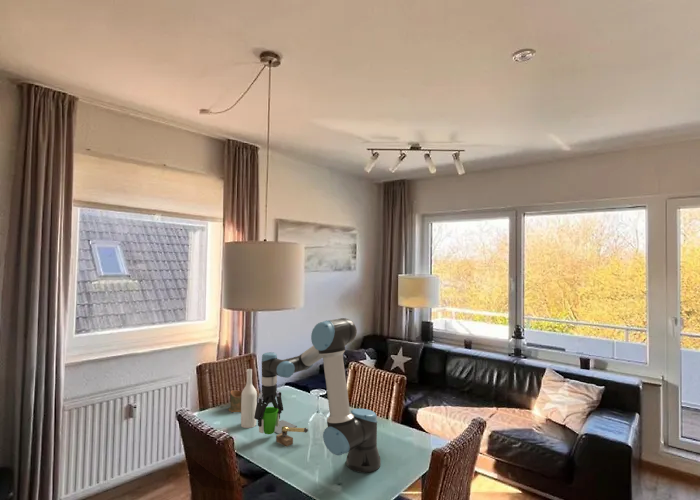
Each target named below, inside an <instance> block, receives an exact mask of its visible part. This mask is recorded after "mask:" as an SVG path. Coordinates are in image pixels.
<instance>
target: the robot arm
mask: <svg viewBox="0 0 700 500" xmlns="http://www.w3.org/2000/svg"><path fill="white" fill-rule="evenodd" d="M357 331H358V329H357V326H356V324H355V323H354V322H353V321H352V320H351V319H349V318H346V317H345V318H343V317H342V318H337V319H329V320H324V321H321V322H318V323H316V324H315V325H314V327H313V328H312V331H311V335H310V336H311V337H310V338H311V339H310V341H311V345H312V346H310V347H309V348H308V349H307V350H305V351H303V352H302V353H300V354H299V355H296V356H293V357H289V358H286V359H279V358H278V354H277V353H276V352H272V351H271V352H264V353H263V354H261V355H262V356H261V396H260V397H258V398H257V405H256V411H255V416H254V419H256V421H257V427H258V432H259V433H261V434H265V433H264V420H263V419H262V418H263V415H264V412H265V410H266V407H269V404H272V407H274V408H278V412H277V418H276V425H275V426H277V427H279V421H280V420H281V414H282V412H283V411H284V406H283V405H284V404H283V400H282V392H281V391H278V385H277V384H278V383H277V382H278V376H279V377H281V378H287V379H289V378H291V377H292V376H293V375H294V374H295V373H298V372H302V371H306V370H309V369H311V368H313V366H314V364H315V363H317V362H318V361H320V360H322V361H323V362H322V363H323V370H324V378H325V386H326V394H327V401H328V410H329V416H328V417H327V419H326V423H327V424H326V426H327V427H326V428H324V431H323V433H322V439H323V444H324V446H325V448H326V449H327V450H328V451H329V452H330V453H331V454H333V455H335V456H343V455H345V454H347V455H346V466H347V467H348V468H349V469H350V470H352V471H353V472H357V473H364V474H365V473H372V472H375V471H377V470H378V469H379V468H380V467H381V456H380V453H379V448H378V446H377V445H378V443H377V442H378V438H377V437H378V415H377V413H376V412H375V411H373V410H370V409H366V408H354V409H352V410H350V402H349V393H348V387H347V379H346V377H347V376H346V370H345V364H344V353H345V352H346V346H347V345H349V344H350V343H352V342H353V341H354V340H355V338H356V337H357V334H358V332H357Z"/></svg>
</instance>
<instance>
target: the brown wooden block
mask: <svg viewBox="0 0 700 500" xmlns="http://www.w3.org/2000/svg"><path fill="white" fill-rule="evenodd" d="M275 442H277V443H278V444H280V445H281V446H283V447H286V448H287V447H289V446H291V445H293V444H294V437H292V436H291V435H288V432H286V433H283V432H282V433H281V434H277V435H275Z"/></svg>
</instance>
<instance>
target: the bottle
mask: <svg viewBox="0 0 700 500" xmlns="http://www.w3.org/2000/svg"><path fill="white" fill-rule="evenodd" d="M256 389H257V388H255V386H254V385H253V369H252V368H248V369H246V385H245V387H243V389H242V395H241V413H240V426H241V428H244V429H252V428H254V427H256V426H257V419H254V416H255V411H256V405H257V397H258V391H256Z"/></svg>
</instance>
